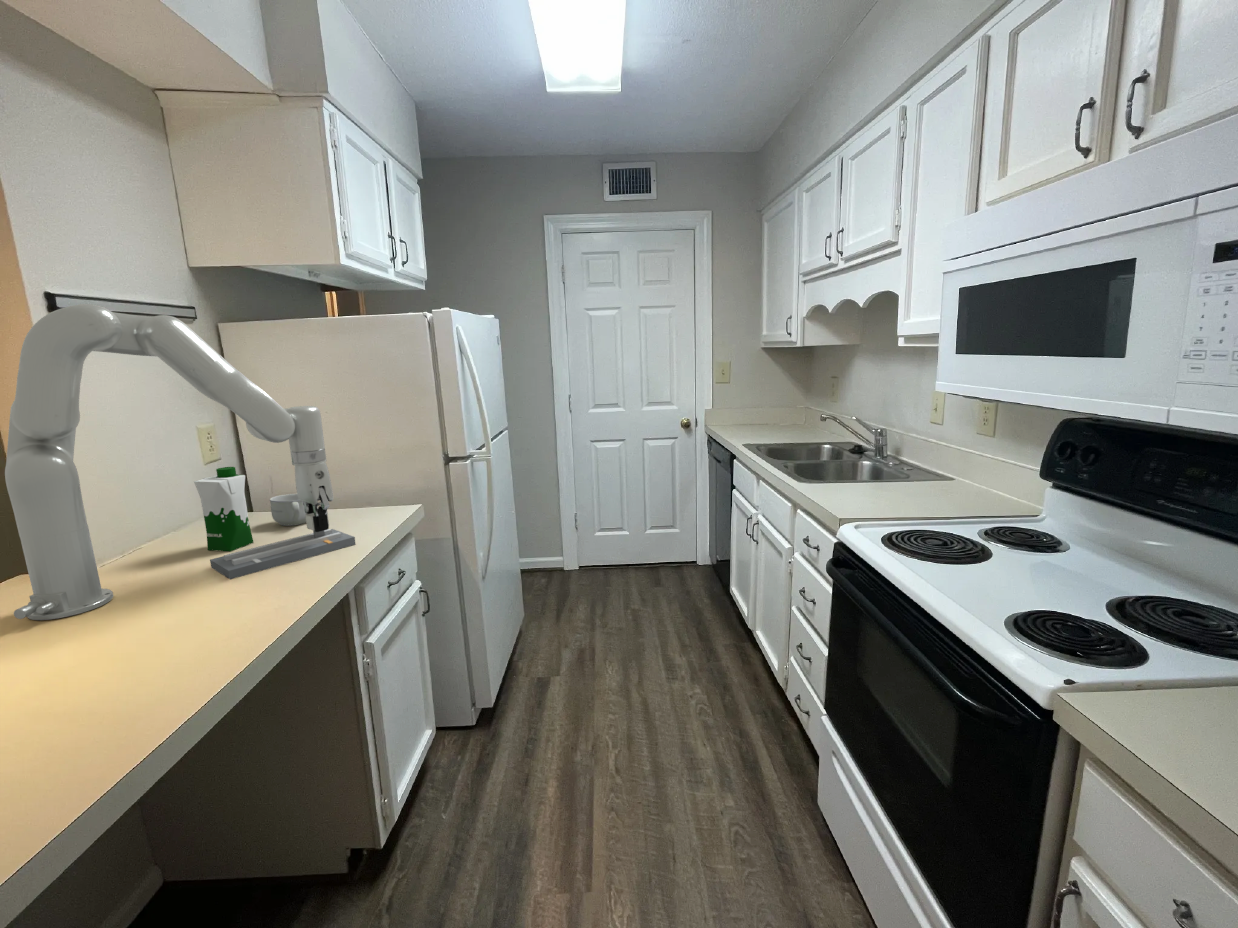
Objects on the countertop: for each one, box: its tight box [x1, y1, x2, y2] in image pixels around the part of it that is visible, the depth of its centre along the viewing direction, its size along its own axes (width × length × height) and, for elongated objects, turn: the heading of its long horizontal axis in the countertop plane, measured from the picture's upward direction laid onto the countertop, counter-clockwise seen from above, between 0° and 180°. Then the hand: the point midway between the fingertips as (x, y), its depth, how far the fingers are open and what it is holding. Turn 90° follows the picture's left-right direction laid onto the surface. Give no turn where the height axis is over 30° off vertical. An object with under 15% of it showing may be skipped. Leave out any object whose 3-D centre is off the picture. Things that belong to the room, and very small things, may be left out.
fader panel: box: [209, 528, 356, 580], centre depth 141 cm, size 28×12×3 cm, turn 141°
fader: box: [305, 512, 330, 538], centre depth 147 cm, size 4×3×6 cm
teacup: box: [269, 493, 308, 527], centre depth 167 cm, size 14×11×8 cm
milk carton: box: [193, 466, 254, 553], centre depth 148 cm, size 9×9×20 cm
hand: (318, 528), depth 147 cm, fingers closed on fader, 3 cm apart
